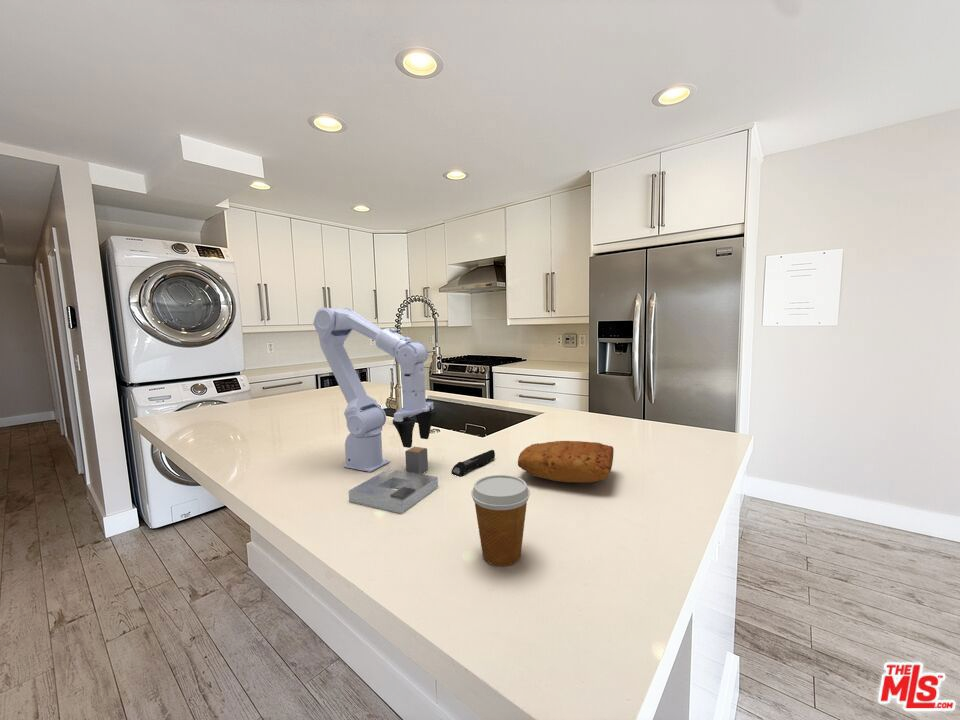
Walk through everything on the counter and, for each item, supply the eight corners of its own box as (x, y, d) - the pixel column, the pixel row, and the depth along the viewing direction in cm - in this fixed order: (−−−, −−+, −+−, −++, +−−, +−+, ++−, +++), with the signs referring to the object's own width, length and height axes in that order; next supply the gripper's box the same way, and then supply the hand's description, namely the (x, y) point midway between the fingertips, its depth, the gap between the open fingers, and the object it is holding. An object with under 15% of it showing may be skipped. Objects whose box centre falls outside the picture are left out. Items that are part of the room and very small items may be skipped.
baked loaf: (618, 472, 100) (618, 441, 99) (607, 500, 85) (607, 463, 84) (534, 460, 110) (533, 431, 109) (510, 483, 94) (510, 450, 94)
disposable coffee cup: (471, 541, 70) (469, 475, 69) (524, 537, 71) (523, 472, 70) (475, 575, 61) (472, 499, 59) (536, 570, 61) (535, 495, 60)
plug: (406, 474, 102) (405, 450, 101) (415, 468, 106) (414, 446, 105) (419, 476, 100) (418, 452, 100) (428, 470, 104) (427, 447, 103)
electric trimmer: (498, 461, 111) (498, 450, 110) (461, 478, 99) (460, 465, 99) (488, 458, 113) (488, 447, 113) (450, 475, 101) (449, 462, 101)
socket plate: (349, 501, 87) (348, 488, 86) (390, 478, 99) (389, 466, 99) (401, 513, 81) (400, 499, 80) (438, 487, 93) (437, 474, 93)
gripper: (410, 396, 93) (412, 453, 94) (442, 386, 106) (444, 436, 107) (385, 394, 96) (388, 449, 97) (420, 385, 109) (422, 433, 110)
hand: (416, 442), depth 102 cm, fingers open, 7 cm apart
